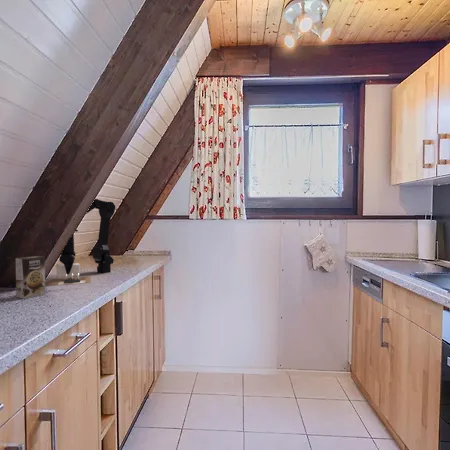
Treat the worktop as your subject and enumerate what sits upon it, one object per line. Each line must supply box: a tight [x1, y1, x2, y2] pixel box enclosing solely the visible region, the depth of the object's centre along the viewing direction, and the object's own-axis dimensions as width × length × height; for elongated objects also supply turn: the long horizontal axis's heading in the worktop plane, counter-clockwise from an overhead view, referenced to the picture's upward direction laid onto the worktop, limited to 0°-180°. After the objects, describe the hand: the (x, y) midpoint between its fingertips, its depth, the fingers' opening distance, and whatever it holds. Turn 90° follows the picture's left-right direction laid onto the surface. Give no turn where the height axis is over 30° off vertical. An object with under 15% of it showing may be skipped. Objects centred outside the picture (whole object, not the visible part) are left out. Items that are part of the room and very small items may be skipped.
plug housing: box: [55, 262, 80, 278], centre depth 172 cm, size 10×5×5 cm, turn 111°
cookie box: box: [15, 255, 46, 300], centre depth 146 cm, size 9×6×16 cm
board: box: [45, 276, 92, 287], centre depth 168 cm, size 20×16×2 cm
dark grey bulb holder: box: [64, 273, 80, 283], centre depth 164 cm, size 7×2×4 cm, turn 111°
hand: (68, 273), depth 172 cm, fingers closed on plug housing, 5 cm apart
